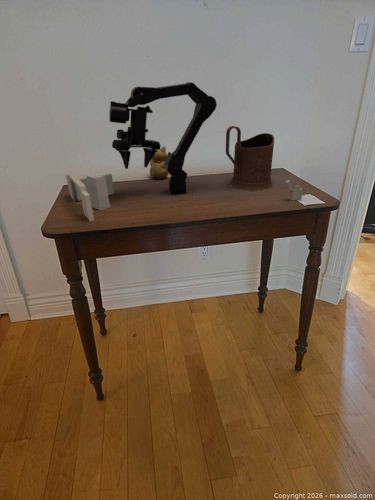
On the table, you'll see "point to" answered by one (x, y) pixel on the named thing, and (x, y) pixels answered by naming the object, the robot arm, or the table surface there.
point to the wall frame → (84, 195)
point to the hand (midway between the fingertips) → (136, 167)
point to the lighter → (294, 191)
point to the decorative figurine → (158, 164)
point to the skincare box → (98, 191)
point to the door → (84, 180)
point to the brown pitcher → (251, 161)
